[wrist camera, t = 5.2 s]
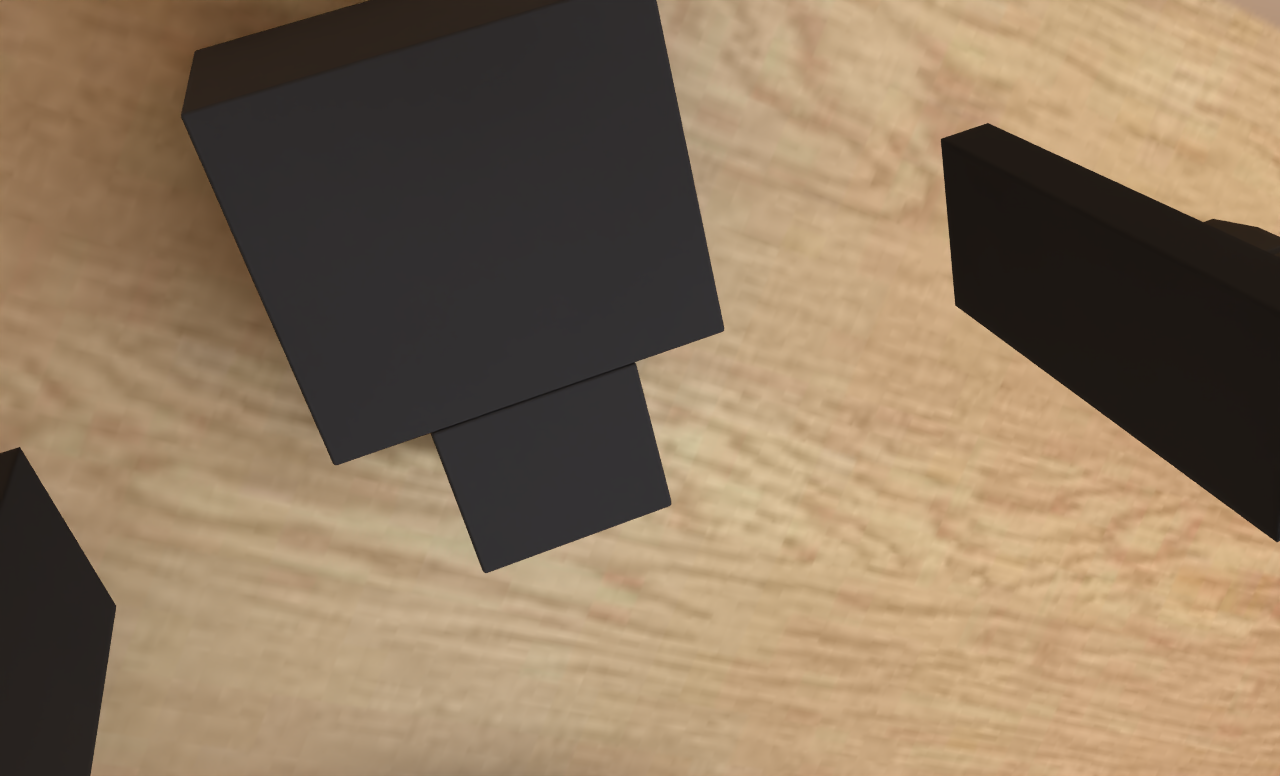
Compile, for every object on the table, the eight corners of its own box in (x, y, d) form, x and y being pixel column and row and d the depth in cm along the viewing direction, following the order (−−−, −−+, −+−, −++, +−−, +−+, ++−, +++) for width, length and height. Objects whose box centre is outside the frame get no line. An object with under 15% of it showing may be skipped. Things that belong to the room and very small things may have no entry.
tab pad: (580, -61, 24) (651, -27, 19) (682, 374, 29) (755, 475, 25) (193, 50, 23) (179, 114, 18) (374, 482, 28) (395, 607, 24)
